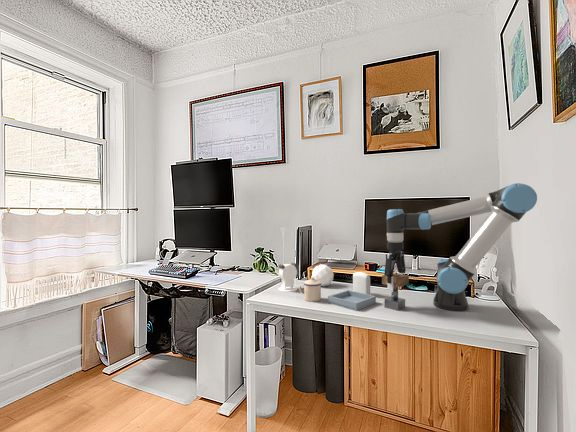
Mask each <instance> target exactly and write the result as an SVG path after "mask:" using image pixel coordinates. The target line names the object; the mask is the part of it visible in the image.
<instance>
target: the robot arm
mask: <svg viewBox="0 0 576 432" xmlns="http://www.w3.org/2000/svg"><path fill="white" fill-rule="evenodd" d="M537 201H538V194H537V192H536V191H535V189H534V188H533V187H531V186H530V185H528V184H525V183H519V182H518V183H517V182H516V183H512V184H510V185H507V186H505V187H502V188H500V189H498V190H496V191H492V192H489V193H486V195H485V196H482V197H477V198H473V199H469V200H465V201H460V202H457V203H453V204H450V205H444V206H440V207H437V208H436V207H435V208H432V209H427V210H424V211H419V212H414V213H413V212H410V213H405V212H404V210H403V209H400V208H398V209H397V208H395V209H394V208H393V209H388V210H387V211H386V241H387V242H386V249H387V250H388V253H386V254H385V264H384V266H385V267H384V275H385V276H387V285H386V286H387V288H386V289H387V290H388V291H391V292H392V291H393V276H392V275H393V273H394V271H395V270H394V269H395V266H396V268H397V273H396V274H402V275H404V274H406V271H407V270H406V261H405V251H403V250H404V242H403V241H404V230H422V231H423V230H430V229H431V227H432V226H434V225H439V224H443V223H446V222H447V223H448V222H451V221H456V220H460V219H461V220H462V219H466V218H470V217H474V216H479V215H483V214H488V215H487V216H486V217H485V219H484V220H483V221H482V223H481V224H480V225H479V227H477V229H476V230H475V231H474V232H473V234H472V236H470V238H469V239H468V240H467V241H466V243H465V244H464V245H463V247H462V248H461V249H460V251H458V253H457V254H455V256H450V257H449V258H439V259H438V260H437V263H436V264H437V274H436V281H437V287H436V288H437V289H436V292H435V294H434V296H433V297H434V298H433V303H432V304H433V306H435V307H436V308H438V309H442V310H447V311H454V312H457V311H459V312H461V311H462V312H463V311H467V310H468V309H469V301H468V299H467V297H466V296H467V295H466V293H465V290H466V288H467V287H468V283H469V282H470V281H471V279H472V278H473V277H474V276H475V275H476V271H475V268H476V267H477V266H478V265H479V263H480V262H481V261H482V260H483V258H485V256H486V255H487V253H489V251H490V250H491V249H492V247H494V245H495V244H496V243H497V242H498V240H499V239H500V238H501V237H502V236H503V235H504V233H505V232H506V231H507V229H508V228H509V227H510V226H511V224H513V223H517V222H519V221H520V220H521V219H522V218H523V217H524V216H525V214H526V213H527V212H529V211H531V210H532V209H534V207H535V205H536V204H537ZM403 287H404V286H402V287H401V288H403Z"/></svg>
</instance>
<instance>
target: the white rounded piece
mask: <svg viewBox="0 0 576 432" xmlns="http://www.w3.org/2000/svg"><path fill="white" fill-rule="evenodd" d="M278 268H279V270H278V276H279V277H278V278H279V282H280V284H281V285H280V287H278V288H277V290H278V291H280V292H284V293H285V292H286V293H287V292H288V293H289V292H290V293H291V292H296V291H298V288H297V287H296V286H295V285H294V284H295V279H296V278H297V275H298V270H297V268H298V264H297V263H296V262H291V263H284V264H278Z"/></svg>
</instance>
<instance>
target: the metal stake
mask: <svg viewBox="0 0 576 432" xmlns="http://www.w3.org/2000/svg"><path fill="white" fill-rule="evenodd" d="M384 308H386V309H390V310H393V311H401V310H402V309H406V298H401V297H399V287H396V286H393V291H392V290H391V296H389V297H386V298H384Z"/></svg>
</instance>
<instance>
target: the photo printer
mask: <svg viewBox="0 0 576 432" xmlns="http://www.w3.org/2000/svg"><path fill="white" fill-rule="evenodd" d="M352 291H355V292H359V293H364V294H368V295H371V276H370V275H369V274H368V273H366V272H363V271H358V272H357V271H356V272H353V274H352Z"/></svg>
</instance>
